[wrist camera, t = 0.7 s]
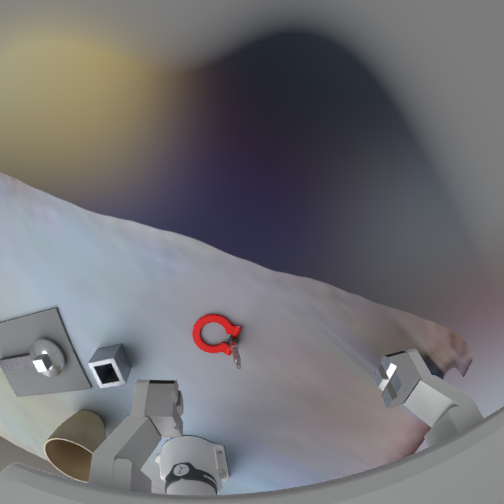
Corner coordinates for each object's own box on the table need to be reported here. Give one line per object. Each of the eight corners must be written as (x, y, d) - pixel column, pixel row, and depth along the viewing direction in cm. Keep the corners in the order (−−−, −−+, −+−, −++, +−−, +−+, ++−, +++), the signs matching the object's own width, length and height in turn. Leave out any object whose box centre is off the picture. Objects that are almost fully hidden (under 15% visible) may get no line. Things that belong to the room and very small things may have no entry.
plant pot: (54, 413, 55) (33, 451, 39) (83, 388, 55) (62, 428, 40) (97, 449, 58) (85, 489, 42) (129, 427, 59) (120, 472, 43)
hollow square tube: (131, 367, 57) (125, 384, 50) (108, 372, 56) (100, 388, 49) (121, 343, 56) (113, 358, 49) (97, 348, 55) (87, 363, 48)
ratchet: (56, 333, 52) (45, 344, 47) (72, 369, 54) (64, 381, 48) (-4, 346, 49) (-15, 355, 44) (11, 378, 51) (2, 388, 45)
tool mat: (91, 386, 56) (91, 388, 55) (17, 395, 52) (17, 396, 51) (56, 307, 52) (55, 308, 52) (-15, 326, 49) (-16, 327, 48)
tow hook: (187, 343, 59) (229, 356, 61) (183, 372, 47) (234, 387, 48) (200, 307, 59) (243, 322, 60) (198, 330, 46) (252, 347, 48)
